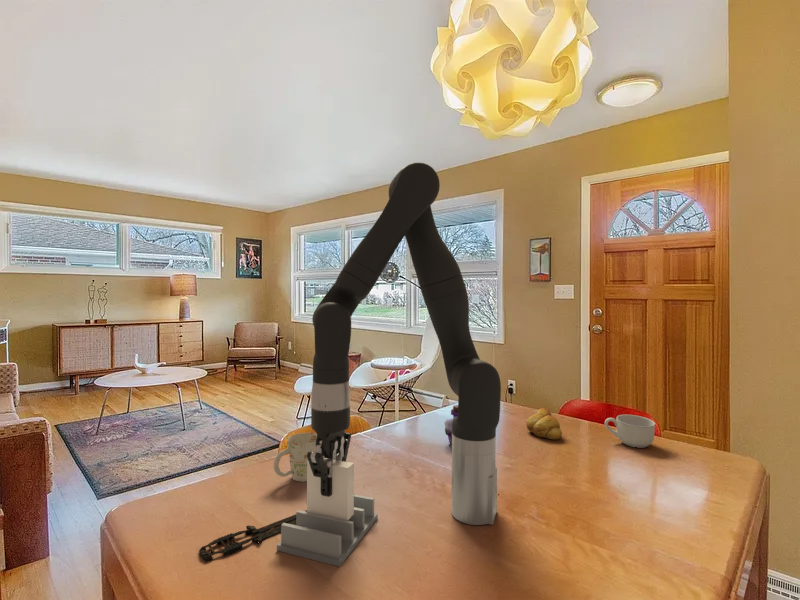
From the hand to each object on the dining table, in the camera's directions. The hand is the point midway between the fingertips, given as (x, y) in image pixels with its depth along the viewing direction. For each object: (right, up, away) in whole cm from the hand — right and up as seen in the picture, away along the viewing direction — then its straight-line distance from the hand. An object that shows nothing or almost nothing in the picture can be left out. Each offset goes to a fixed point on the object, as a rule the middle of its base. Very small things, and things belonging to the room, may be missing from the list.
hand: (330, 491), depth 81 cm
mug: (-13, -8, +24) cm, 28 cm away
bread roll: (+62, -8, +58) cm, 85 cm away
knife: (-12, -9, +1) cm, 15 cm away
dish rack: (0, -8, 0) cm, 8 cm away
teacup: (+87, -8, +50) cm, 100 cm away
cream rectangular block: (0, -4, 0) cm, 4 cm away
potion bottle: (+32, -8, +49) cm, 59 cm away
